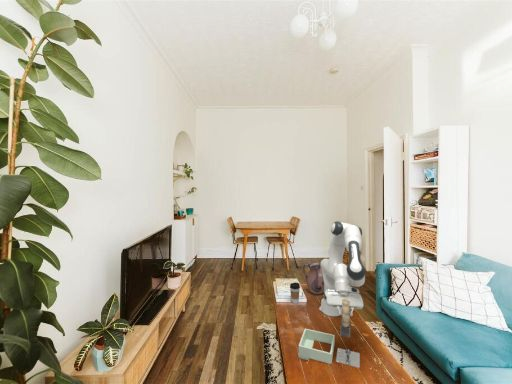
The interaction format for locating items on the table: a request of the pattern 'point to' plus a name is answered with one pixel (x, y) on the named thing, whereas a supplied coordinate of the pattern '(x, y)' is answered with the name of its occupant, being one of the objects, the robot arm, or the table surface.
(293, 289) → the coffee cup
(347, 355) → the stud plate
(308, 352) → the bin
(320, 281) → the ceramic pitcher
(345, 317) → the strut
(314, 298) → the table surface
